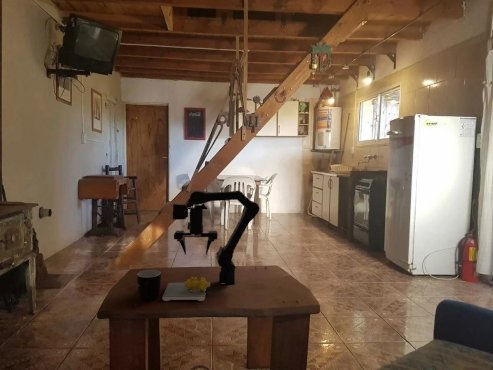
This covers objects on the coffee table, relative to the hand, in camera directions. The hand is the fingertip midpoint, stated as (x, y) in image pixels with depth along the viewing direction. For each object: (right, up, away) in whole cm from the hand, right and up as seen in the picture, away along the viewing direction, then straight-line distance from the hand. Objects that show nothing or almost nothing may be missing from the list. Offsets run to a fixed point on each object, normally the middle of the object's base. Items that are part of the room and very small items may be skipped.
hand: (196, 254), depth 159 cm
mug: (-16, -15, -19) cm, 28 cm away
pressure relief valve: (-2, -9, -11) cm, 15 cm away
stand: (-2, -14, -13) cm, 19 cm away
